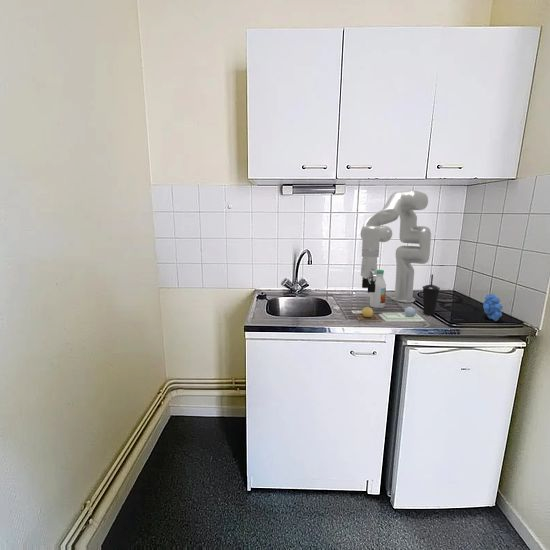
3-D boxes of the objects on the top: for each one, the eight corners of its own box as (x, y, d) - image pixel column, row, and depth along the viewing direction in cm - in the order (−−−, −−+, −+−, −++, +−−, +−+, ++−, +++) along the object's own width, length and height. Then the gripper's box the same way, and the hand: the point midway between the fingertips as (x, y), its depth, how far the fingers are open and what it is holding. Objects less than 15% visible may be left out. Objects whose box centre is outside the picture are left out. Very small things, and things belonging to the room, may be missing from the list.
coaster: (354, 315, 150) (354, 313, 150) (374, 315, 150) (374, 313, 150) (359, 321, 140) (359, 319, 140) (381, 321, 140) (381, 319, 140)
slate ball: (402, 315, 147) (402, 305, 146) (412, 315, 147) (413, 305, 146) (406, 318, 142) (407, 308, 141) (417, 318, 142) (418, 308, 141)
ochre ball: (360, 315, 147) (361, 305, 147) (371, 315, 147) (371, 305, 146) (363, 318, 143) (363, 308, 142) (374, 318, 142) (374, 308, 142)
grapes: (474, 315, 148) (476, 291, 146) (488, 315, 148) (491, 291, 145) (489, 323, 136) (492, 297, 134) (505, 323, 136) (508, 297, 134)
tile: (351, 311, 156) (351, 310, 156) (362, 311, 156) (362, 310, 156) (353, 313, 153) (353, 312, 152) (365, 313, 152) (365, 312, 152)
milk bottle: (375, 309, 160) (377, 271, 156) (367, 305, 167) (368, 269, 164) (387, 307, 162) (390, 270, 158) (379, 304, 169) (381, 268, 166)
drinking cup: (416, 312, 153) (419, 273, 149) (428, 311, 155) (431, 272, 152) (429, 317, 146) (432, 276, 142) (441, 315, 148) (445, 275, 145)
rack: (378, 314, 150) (378, 312, 150) (415, 314, 149) (415, 311, 149) (385, 321, 140) (385, 318, 140) (425, 321, 140) (425, 318, 139)
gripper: (357, 251, 148) (355, 286, 151) (367, 255, 131) (365, 294, 134) (372, 251, 148) (370, 286, 151) (384, 255, 131) (382, 294, 134)
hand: (368, 290), depth 142 cm, fingers open, 9 cm apart
